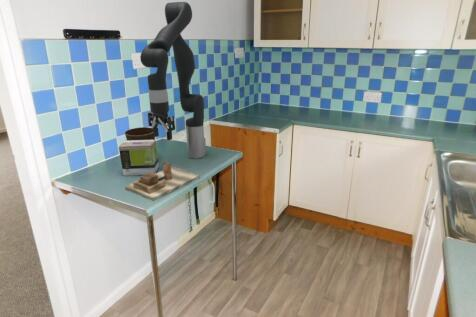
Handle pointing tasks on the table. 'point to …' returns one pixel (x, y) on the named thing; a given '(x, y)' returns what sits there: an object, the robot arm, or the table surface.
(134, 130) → the plant pot
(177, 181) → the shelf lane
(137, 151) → the tea box
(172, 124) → the robot arm
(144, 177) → the walnut block
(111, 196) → the table surface
